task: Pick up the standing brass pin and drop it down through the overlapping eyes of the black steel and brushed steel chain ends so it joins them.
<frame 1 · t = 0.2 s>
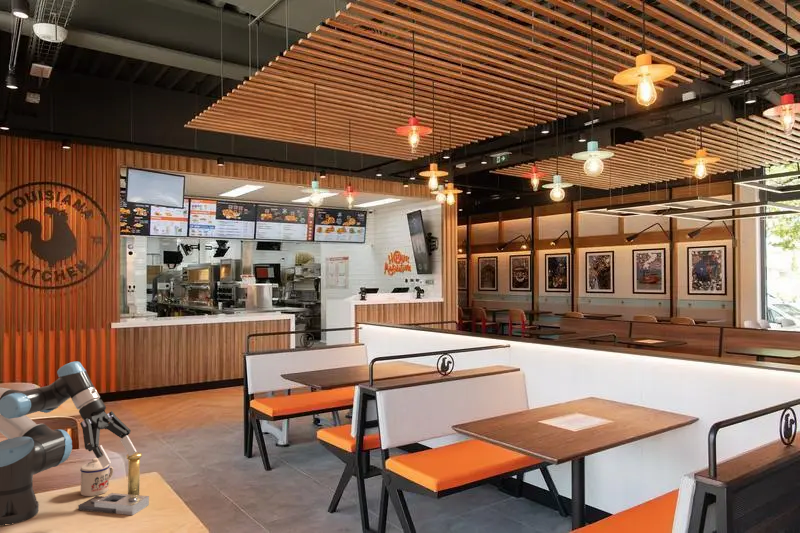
hand: (120, 459, 184), 16 cm above the table, tool tilted 35°, fingers open, 13 cm apart
teacup with lid: (98, 491, 199), on the table
brass pin: (133, 494, 195), on the table
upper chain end: (113, 507, 184), on the table
lower chain end: (113, 507, 184), on the table
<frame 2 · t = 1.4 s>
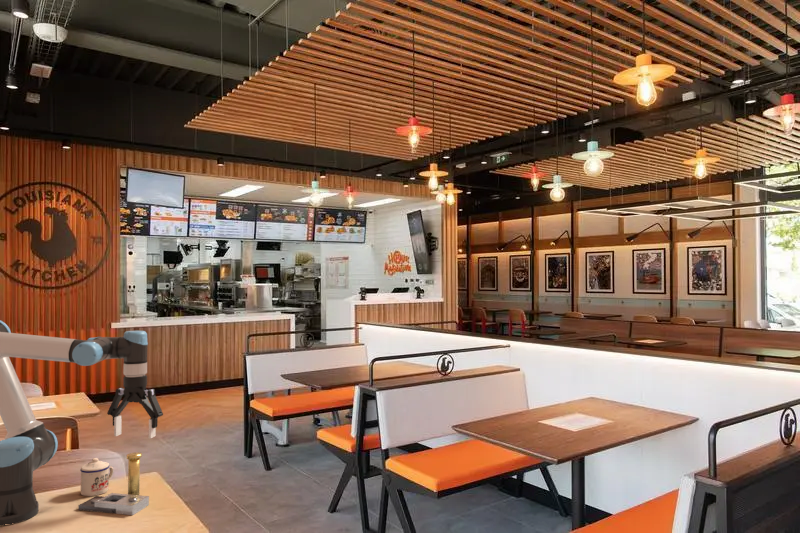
hand: (134, 436, 195), 20 cm above the table, tool pointing down, fingers open, 13 cm apart
nothing on the table moved.
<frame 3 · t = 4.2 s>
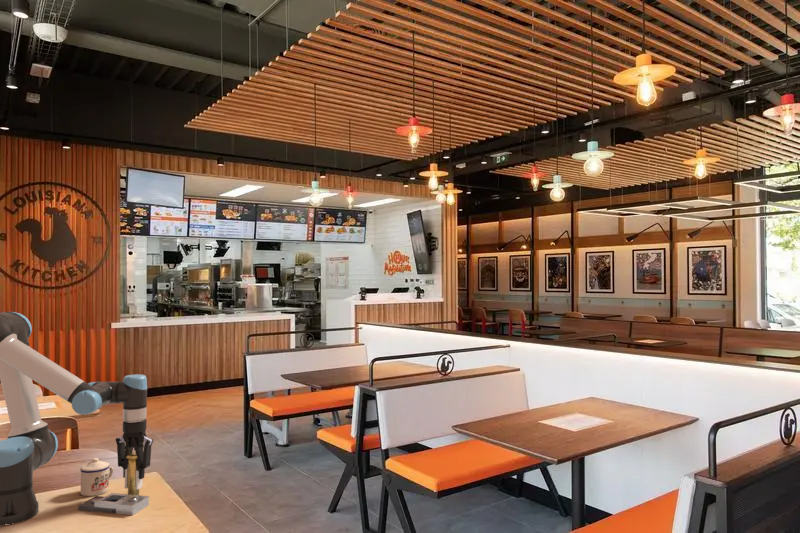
hand: (133, 487, 195), 3 cm above the table, tool pointing down, fingers closed on brass pin, 3 cm apart
brass pin: (133, 494, 195), on the table, touching gripper
everything else where it was.
when the fingers open (5 cm above the table, at t = 8.9 s): brass pin drops 1 cm, resting in lower chain end.
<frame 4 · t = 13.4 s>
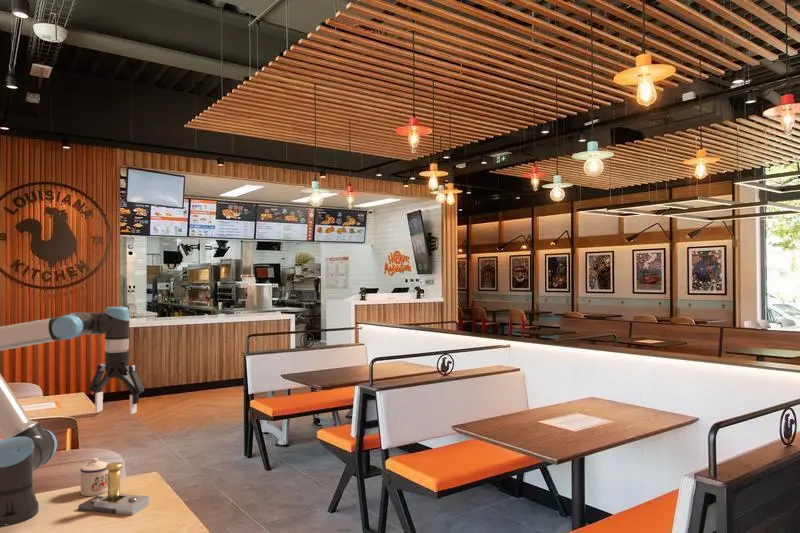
hand: (115, 412, 195), 29 cm above the table, tool pointing down, fingers open, 13 cm apart
brass pin: (113, 507, 184), resting in lower chain end
everything else where it was.
at the end: brass pin 0.1 cm off-centre on the lower chain end, point 0.0 cm above the lower chain end's base; brass pin tilted 0°; the gripper is holding nothing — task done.
